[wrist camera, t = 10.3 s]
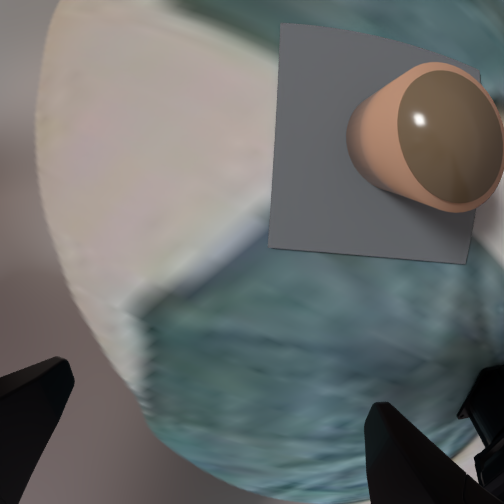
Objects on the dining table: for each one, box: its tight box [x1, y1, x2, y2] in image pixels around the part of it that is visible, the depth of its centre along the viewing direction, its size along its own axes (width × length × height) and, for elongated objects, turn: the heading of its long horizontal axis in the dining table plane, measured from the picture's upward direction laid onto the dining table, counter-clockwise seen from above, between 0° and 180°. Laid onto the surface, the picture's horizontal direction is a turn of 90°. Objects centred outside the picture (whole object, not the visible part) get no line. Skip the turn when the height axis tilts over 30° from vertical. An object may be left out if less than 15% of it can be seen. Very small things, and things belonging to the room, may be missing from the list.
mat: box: [268, 23, 481, 264], centre depth 15 cm, size 14×14×1 cm
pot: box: [346, 62, 504, 213], centre depth 12 cm, size 6×6×7 cm
